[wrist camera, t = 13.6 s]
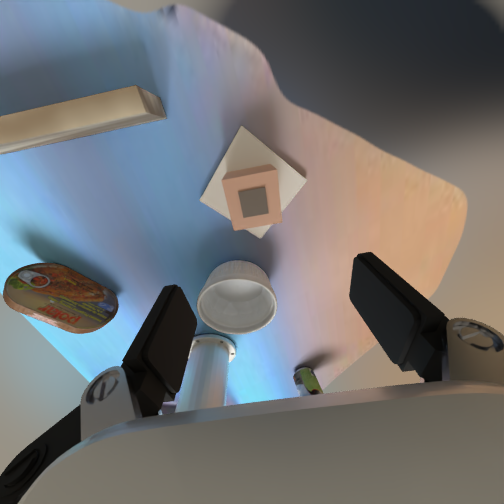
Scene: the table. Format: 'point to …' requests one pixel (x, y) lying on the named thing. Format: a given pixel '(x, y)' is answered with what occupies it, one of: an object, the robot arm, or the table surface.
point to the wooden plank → (79, 118)
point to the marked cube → (253, 196)
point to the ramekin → (237, 298)
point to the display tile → (246, 156)
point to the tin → (60, 297)
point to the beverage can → (307, 382)
